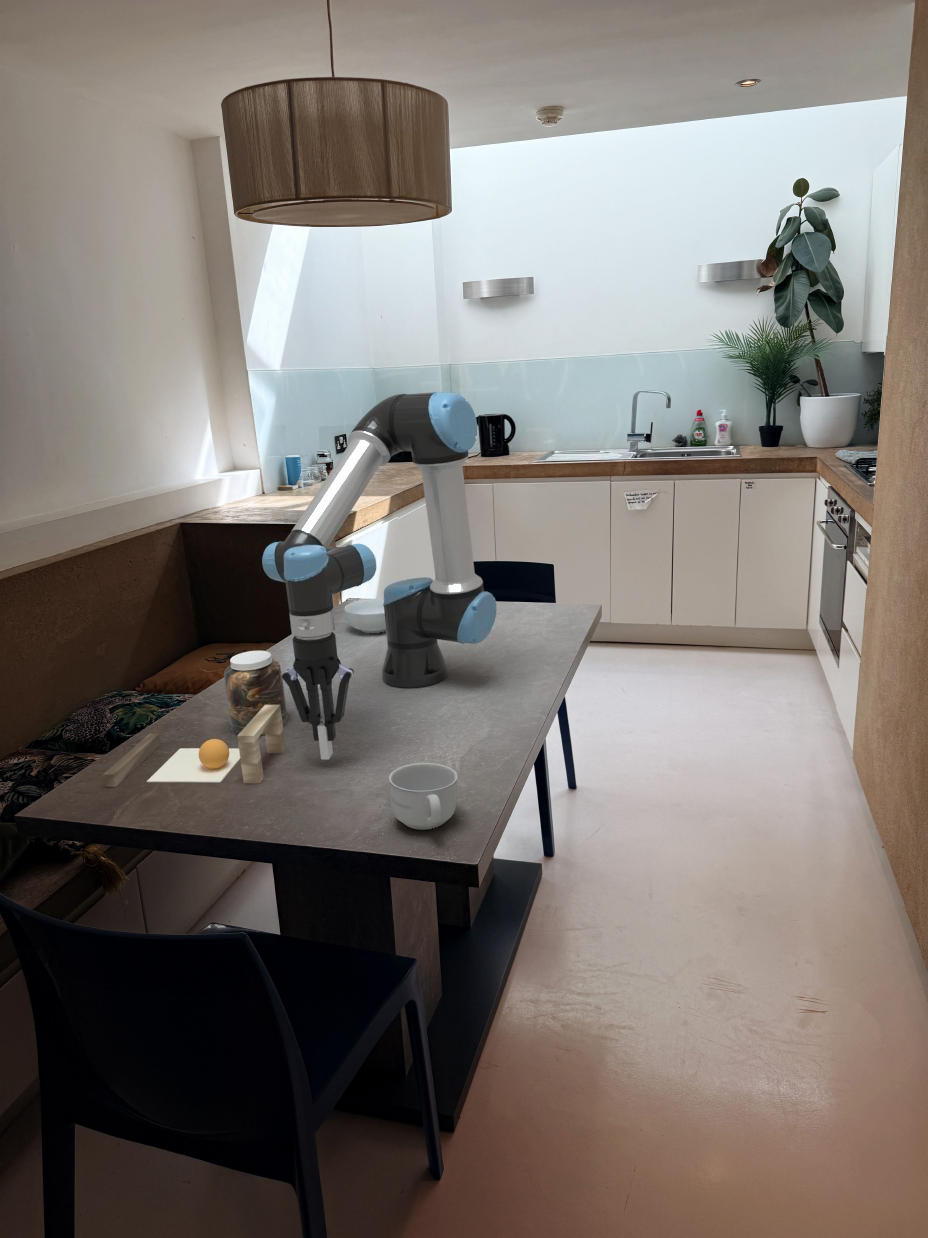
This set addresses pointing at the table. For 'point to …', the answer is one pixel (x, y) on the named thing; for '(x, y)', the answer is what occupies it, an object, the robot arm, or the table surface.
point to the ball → (213, 753)
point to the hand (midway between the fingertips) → (326, 756)
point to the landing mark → (193, 768)
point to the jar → (253, 687)
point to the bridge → (249, 742)
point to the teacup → (423, 794)
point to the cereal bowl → (366, 615)
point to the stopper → (131, 760)
